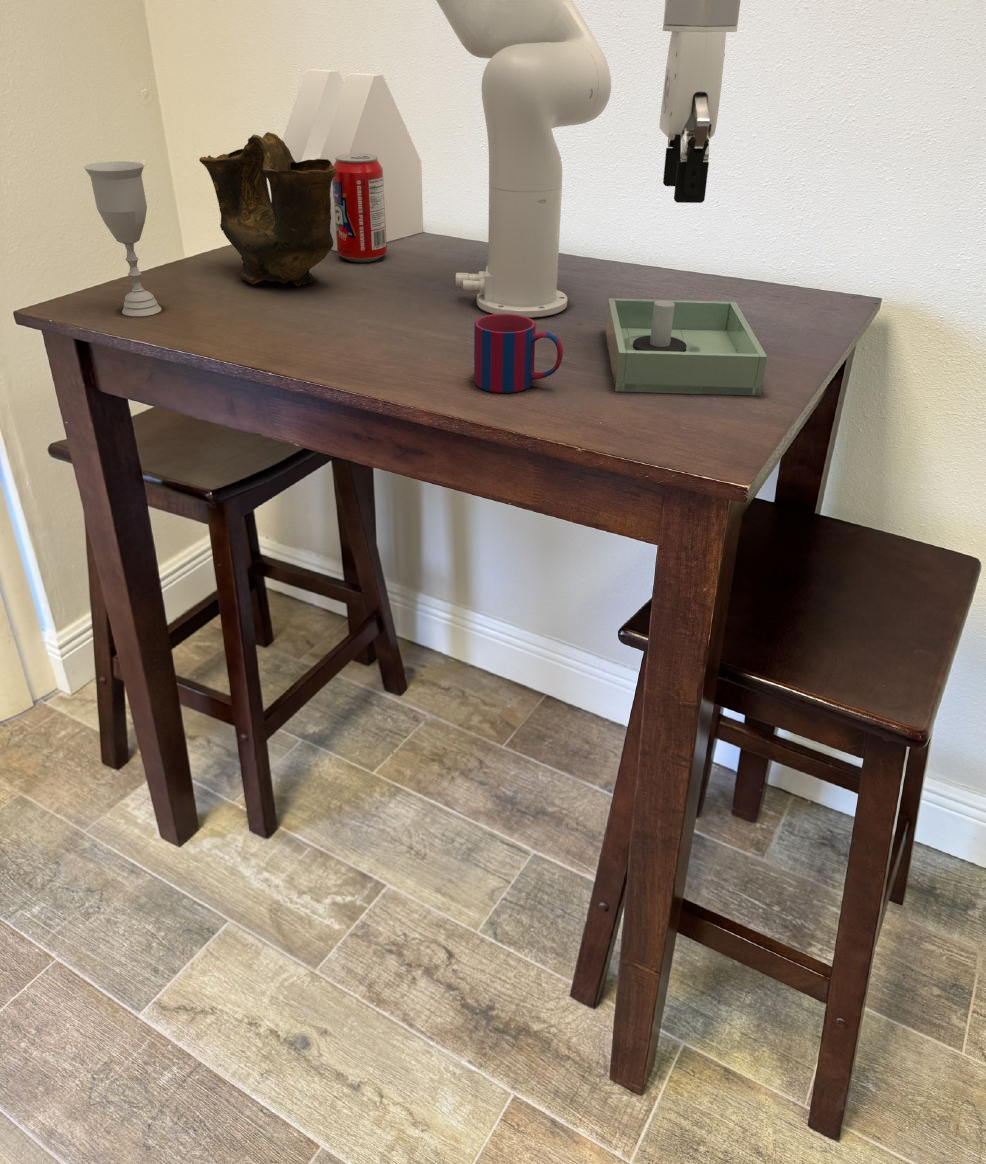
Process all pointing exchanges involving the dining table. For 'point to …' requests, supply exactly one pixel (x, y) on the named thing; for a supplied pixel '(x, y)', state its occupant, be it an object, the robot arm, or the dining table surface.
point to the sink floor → (695, 343)
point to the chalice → (124, 220)
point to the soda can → (359, 207)
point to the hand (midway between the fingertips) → (682, 193)
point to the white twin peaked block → (359, 139)
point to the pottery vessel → (274, 209)
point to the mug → (508, 353)
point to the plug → (660, 331)
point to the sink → (685, 366)
